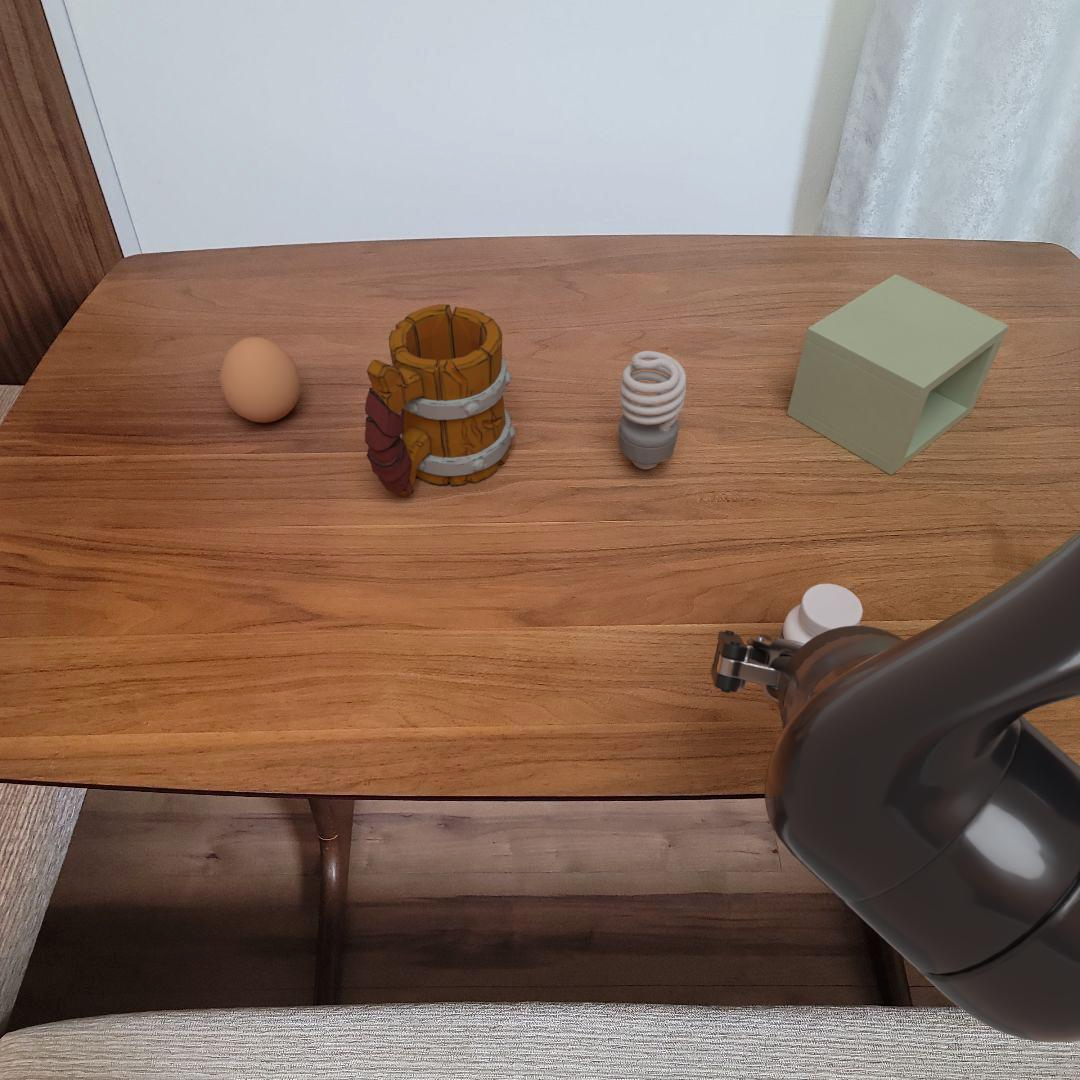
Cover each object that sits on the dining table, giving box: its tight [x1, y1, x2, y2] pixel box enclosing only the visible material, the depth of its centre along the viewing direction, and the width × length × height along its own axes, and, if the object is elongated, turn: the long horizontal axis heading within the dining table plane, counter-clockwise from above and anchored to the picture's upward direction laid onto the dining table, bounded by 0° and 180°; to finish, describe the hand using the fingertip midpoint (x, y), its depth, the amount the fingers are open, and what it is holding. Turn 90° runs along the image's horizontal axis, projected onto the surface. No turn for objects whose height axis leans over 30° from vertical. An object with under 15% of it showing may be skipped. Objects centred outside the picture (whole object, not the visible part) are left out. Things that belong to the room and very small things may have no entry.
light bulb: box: [618, 350, 687, 470], centre depth 82 cm, size 6×6×12 cm
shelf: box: [786, 273, 1009, 476], centre depth 88 cm, size 12×14×10 cm
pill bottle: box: [777, 583, 864, 705], centre depth 65 cm, size 5×5×10 cm
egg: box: [219, 336, 302, 424], centre depth 88 cm, size 7×7×8 cm
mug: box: [364, 303, 516, 497], centre depth 81 cm, size 11×16×15 cm, turn 147°
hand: (830, 667), depth 57 cm, fingers open, 8 cm apart
